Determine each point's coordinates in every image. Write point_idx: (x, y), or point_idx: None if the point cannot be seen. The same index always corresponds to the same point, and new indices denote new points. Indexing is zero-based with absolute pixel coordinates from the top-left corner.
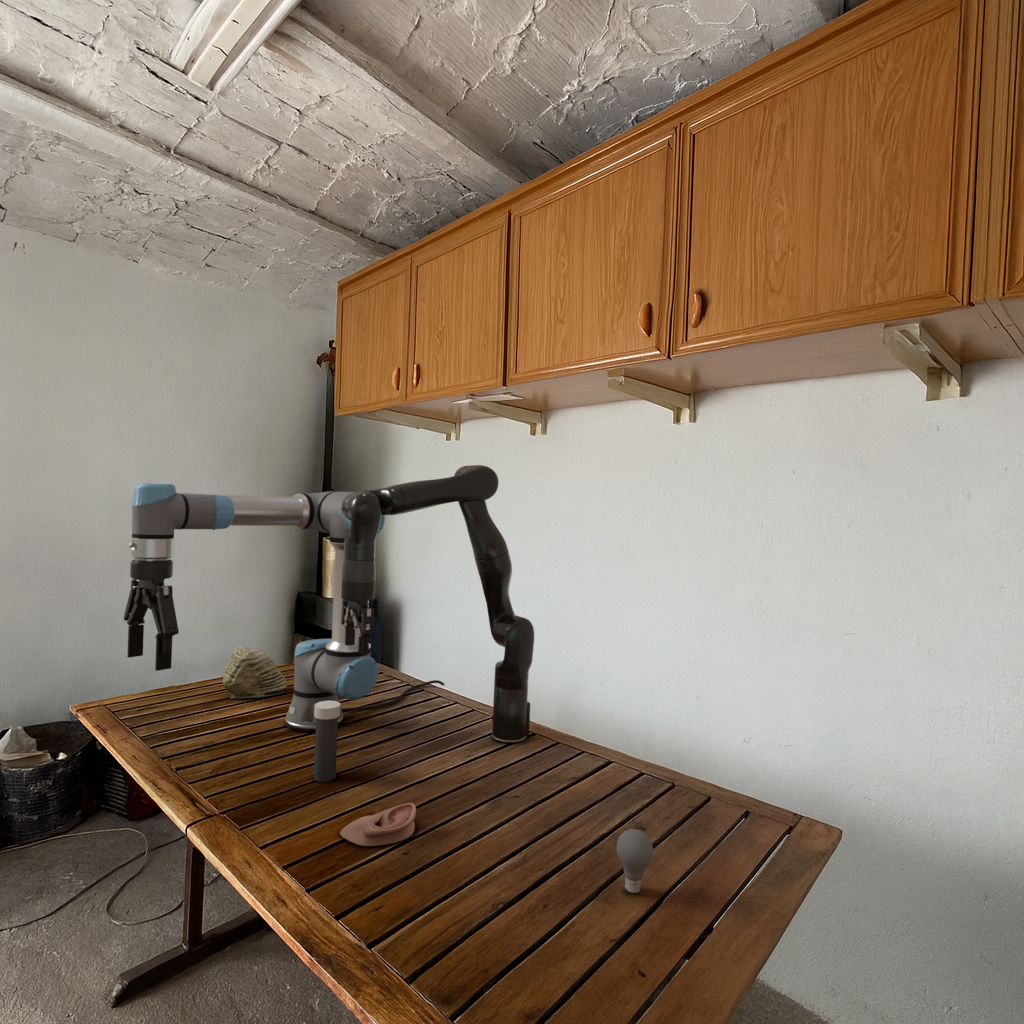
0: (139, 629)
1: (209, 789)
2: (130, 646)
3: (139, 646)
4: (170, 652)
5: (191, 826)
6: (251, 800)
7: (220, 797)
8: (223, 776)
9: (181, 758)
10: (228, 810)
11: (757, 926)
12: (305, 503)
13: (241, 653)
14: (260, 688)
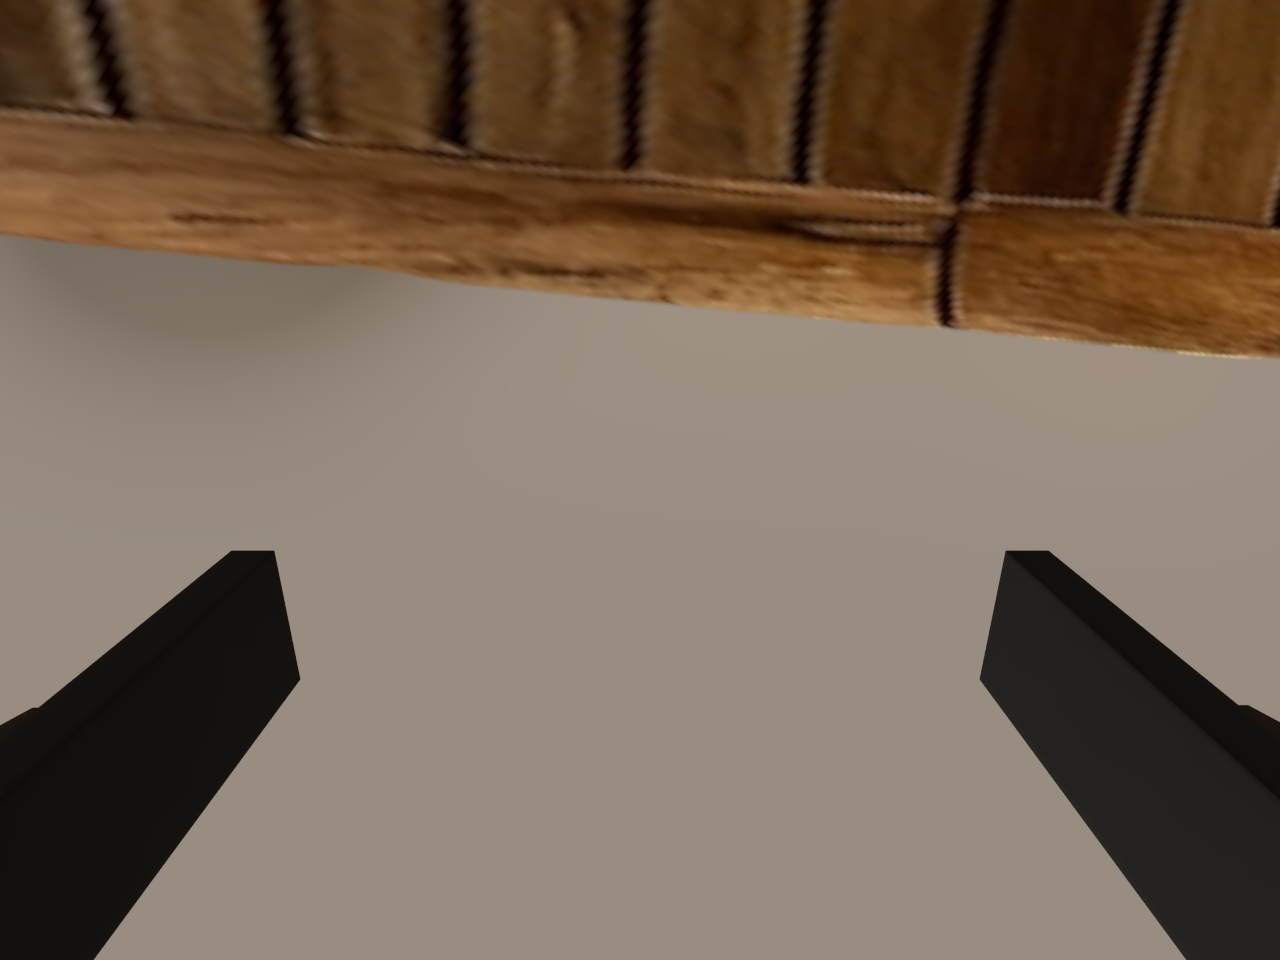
0: (19, 861)
1: (744, 132)
2: (234, 758)
3: (218, 653)
4: (1255, 712)
5: (959, 321)
6: (969, 52)
7: (844, 135)
8: (668, 16)
9: (341, 65)
10: (965, 169)
11: None
12: None
13: None
14: None
